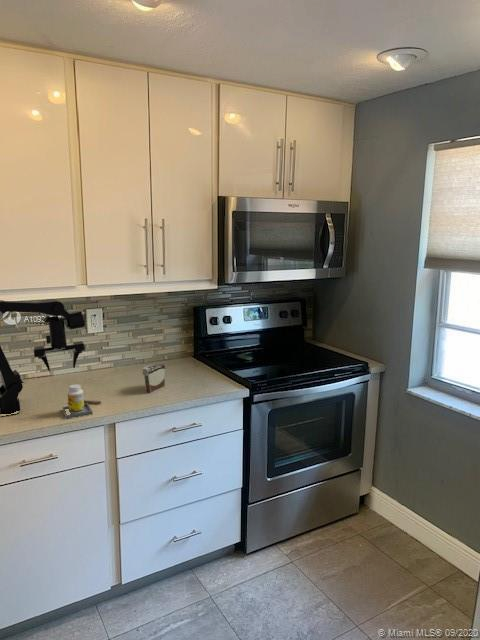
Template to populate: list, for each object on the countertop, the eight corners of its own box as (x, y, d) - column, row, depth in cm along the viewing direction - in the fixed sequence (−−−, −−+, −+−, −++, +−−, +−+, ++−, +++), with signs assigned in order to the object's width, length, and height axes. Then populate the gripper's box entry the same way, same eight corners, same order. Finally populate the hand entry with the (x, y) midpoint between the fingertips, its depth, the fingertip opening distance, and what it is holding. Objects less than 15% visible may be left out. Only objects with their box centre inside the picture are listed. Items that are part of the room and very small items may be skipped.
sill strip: (70, 403, 186) (70, 401, 186) (71, 402, 187) (71, 400, 187) (100, 404, 185) (100, 401, 185) (101, 403, 187) (101, 400, 186)
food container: (156, 383, 210) (155, 362, 208) (167, 385, 206) (166, 364, 204) (137, 391, 199) (136, 369, 197) (148, 394, 196) (147, 371, 194)
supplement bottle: (67, 410, 178) (65, 385, 176) (82, 407, 181) (80, 382, 179) (71, 415, 174) (69, 389, 172) (86, 412, 177) (84, 386, 175)
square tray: (65, 419, 171) (65, 416, 171) (62, 409, 180) (62, 407, 179) (92, 414, 176) (92, 411, 175) (88, 405, 184) (87, 402, 184)
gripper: (79, 324, 194) (83, 360, 197) (31, 330, 186) (35, 367, 190) (83, 330, 184) (87, 368, 187) (31, 336, 176) (36, 375, 180)
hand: (61, 369), depth 186 cm, fingers open, 9 cm apart
